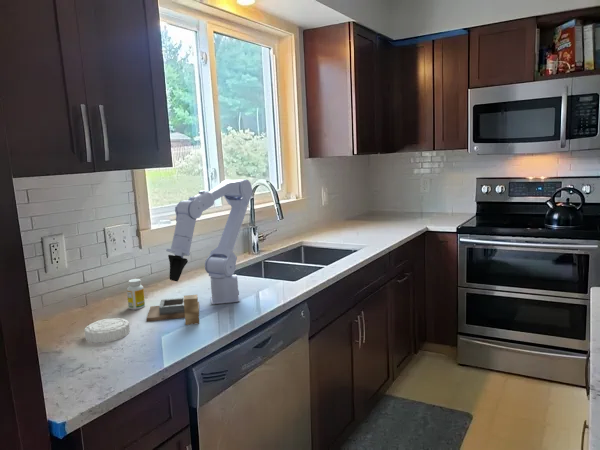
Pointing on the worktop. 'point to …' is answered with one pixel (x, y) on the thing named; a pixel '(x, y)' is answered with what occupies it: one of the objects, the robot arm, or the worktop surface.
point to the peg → (191, 309)
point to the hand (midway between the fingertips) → (173, 280)
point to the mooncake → (107, 330)
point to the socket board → (167, 310)
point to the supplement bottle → (135, 294)
